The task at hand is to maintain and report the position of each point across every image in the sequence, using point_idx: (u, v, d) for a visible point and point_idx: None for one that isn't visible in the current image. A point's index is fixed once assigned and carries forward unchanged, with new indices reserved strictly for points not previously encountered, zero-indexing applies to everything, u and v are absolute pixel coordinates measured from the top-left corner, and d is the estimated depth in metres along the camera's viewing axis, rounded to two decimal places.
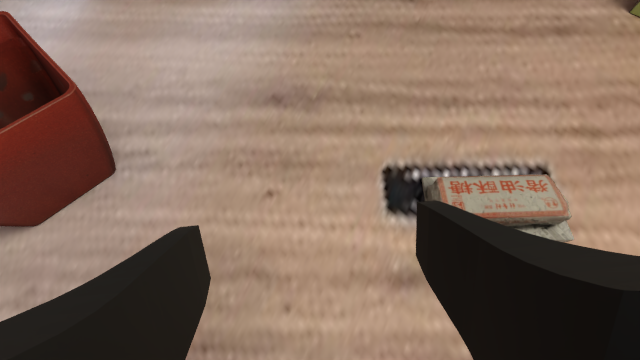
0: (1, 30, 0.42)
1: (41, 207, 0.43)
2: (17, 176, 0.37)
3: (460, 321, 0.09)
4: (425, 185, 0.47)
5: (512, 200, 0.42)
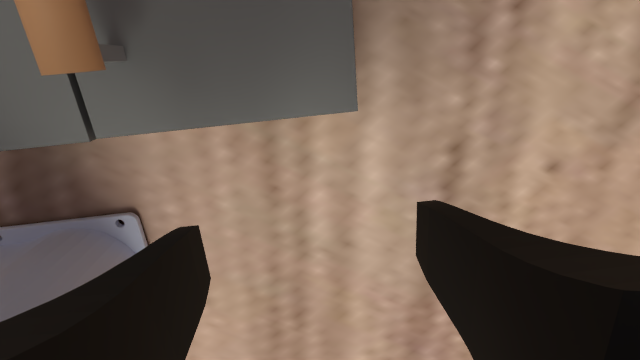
0: None
1: None
2: None
3: (460, 321, 0.09)
4: None
5: None
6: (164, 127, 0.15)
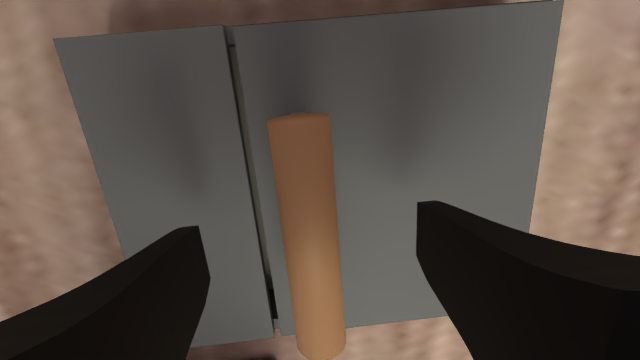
0: None
1: None
2: None
3: (460, 321, 0.09)
4: None
5: None
6: None
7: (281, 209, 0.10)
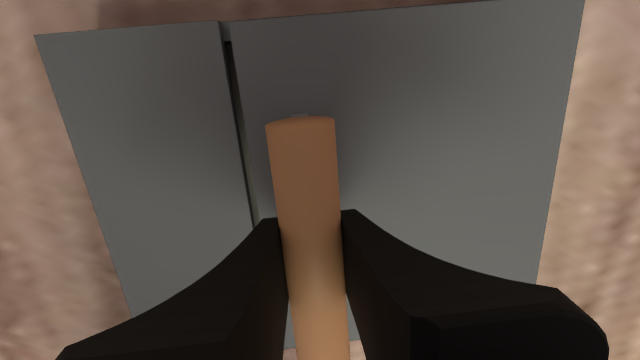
0: None
1: None
2: None
3: (361, 333, 0.09)
4: None
5: None
6: None
7: (280, 221, 0.09)
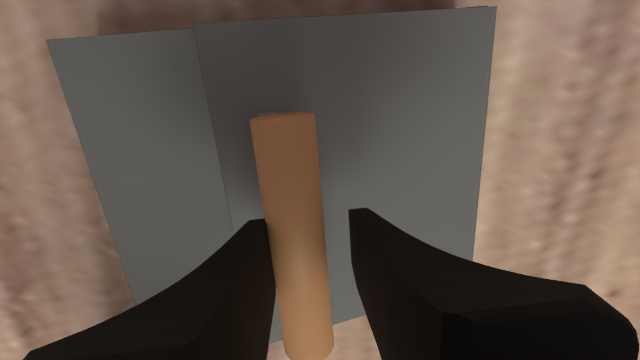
0: None
1: None
2: None
3: (376, 331, 0.09)
4: None
5: None
6: None
7: (268, 212, 0.10)
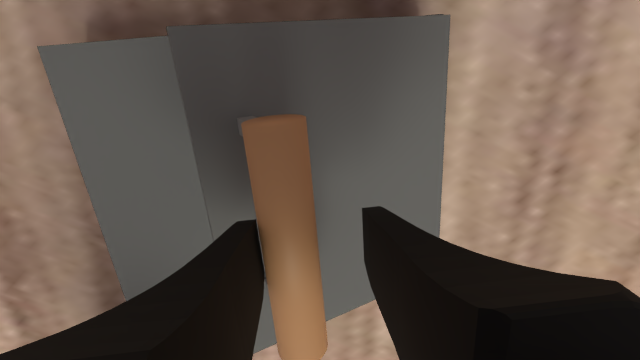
0: None
1: None
2: None
3: (392, 329, 0.09)
4: None
5: None
6: None
7: (264, 216, 0.10)
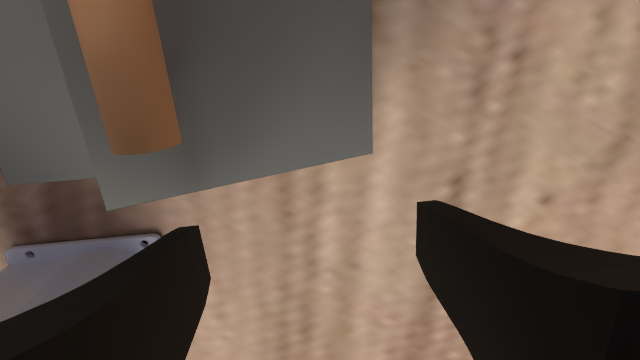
0: None
1: None
2: None
3: (460, 321, 0.09)
4: None
5: None
6: (191, 187, 0.14)
7: None
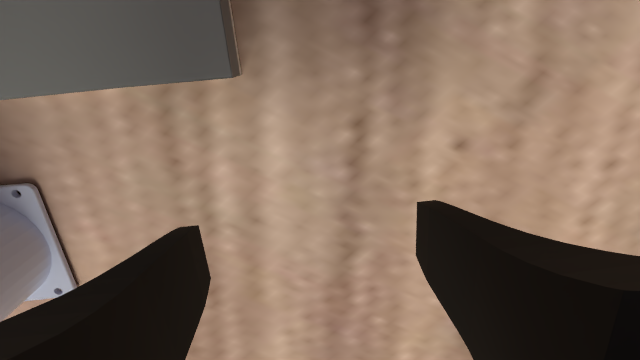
0: None
1: None
2: None
3: (460, 321, 0.09)
4: None
5: None
6: None
7: None
